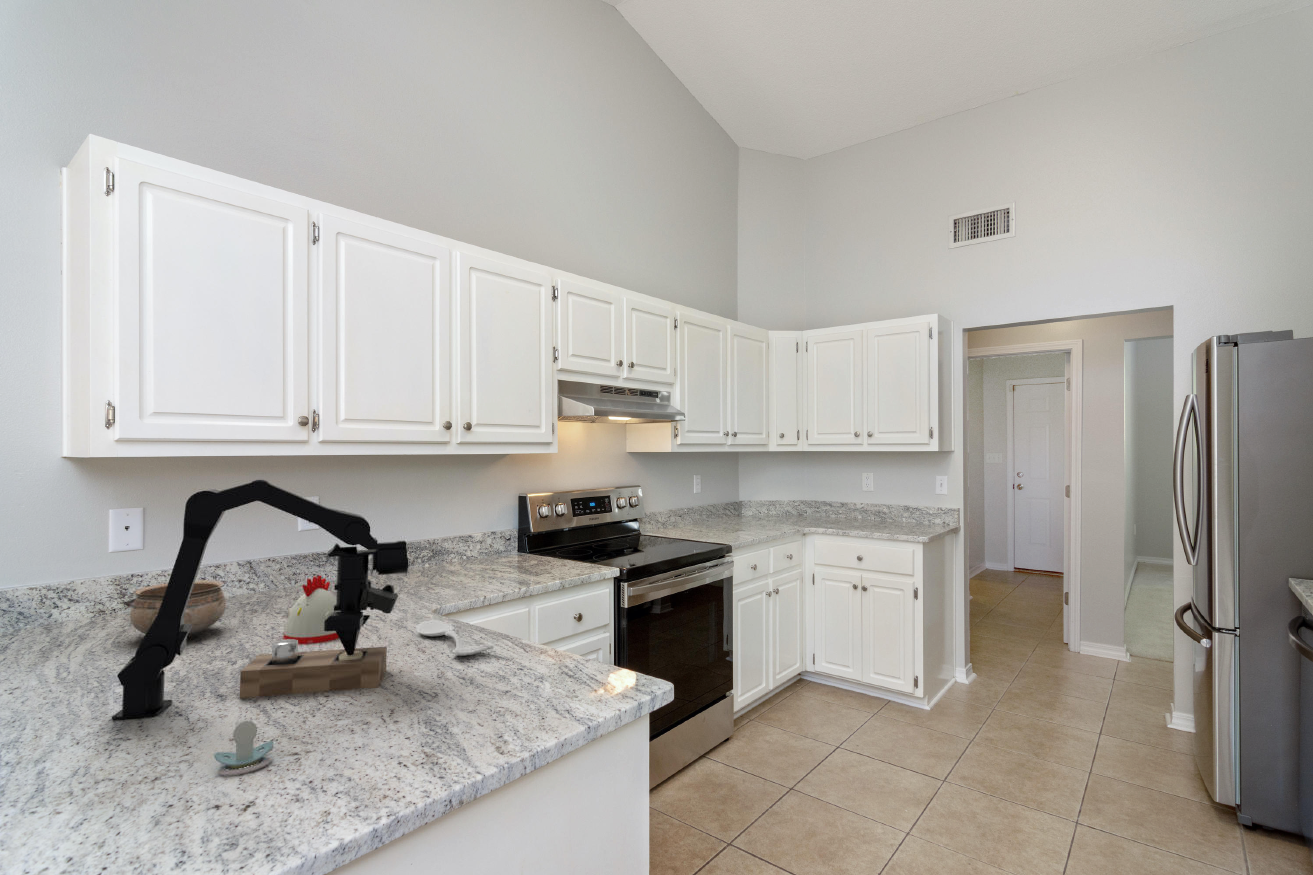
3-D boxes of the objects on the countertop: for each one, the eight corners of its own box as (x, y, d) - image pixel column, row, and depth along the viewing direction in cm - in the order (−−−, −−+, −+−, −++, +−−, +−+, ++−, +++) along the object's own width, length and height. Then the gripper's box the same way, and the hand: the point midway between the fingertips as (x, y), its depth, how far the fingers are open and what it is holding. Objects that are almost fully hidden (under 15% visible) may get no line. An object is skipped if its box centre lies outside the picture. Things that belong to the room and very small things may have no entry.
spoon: (455, 666, 137) (456, 650, 137) (410, 632, 162) (411, 619, 162) (494, 658, 143) (495, 643, 143) (445, 627, 168) (445, 614, 168)
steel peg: (293, 669, 122) (294, 644, 122) (268, 670, 121) (268, 646, 121) (300, 661, 127) (300, 638, 127) (275, 663, 125) (276, 639, 126)
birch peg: (360, 680, 125) (360, 657, 125) (335, 682, 124) (336, 658, 124) (364, 673, 130) (364, 650, 130) (341, 674, 128) (341, 651, 129)
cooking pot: (130, 631, 159) (132, 583, 159) (220, 620, 171) (222, 575, 171) (127, 657, 140) (129, 602, 140) (229, 642, 151) (231, 591, 152)
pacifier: (274, 769, 92) (272, 752, 97) (275, 726, 92) (273, 711, 97) (213, 784, 88) (213, 765, 93) (214, 739, 88) (215, 722, 93)
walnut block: (378, 687, 124) (378, 661, 124) (239, 697, 117) (240, 671, 118) (386, 670, 133) (386, 646, 133) (258, 679, 127) (259, 654, 127)
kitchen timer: (269, 641, 153) (271, 579, 153) (313, 626, 166) (314, 569, 166) (317, 646, 149) (319, 582, 150) (358, 630, 163) (359, 572, 163)
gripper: (388, 584, 121) (386, 666, 120) (401, 567, 139) (399, 638, 138) (324, 587, 118) (322, 671, 117) (346, 569, 136) (344, 642, 135)
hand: (350, 654), depth 127 cm, fingers closed, pressing on birch peg
